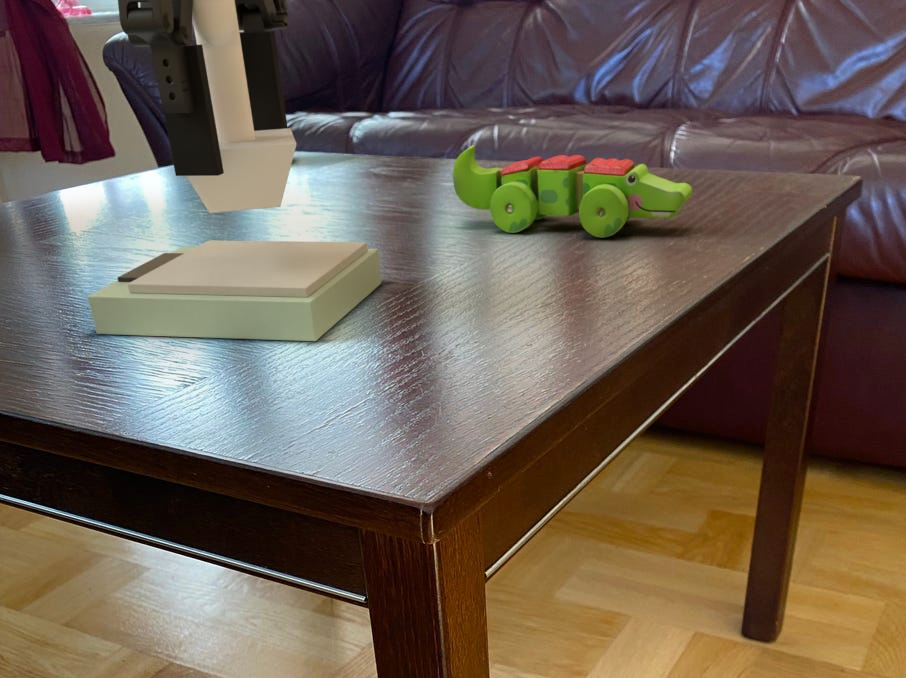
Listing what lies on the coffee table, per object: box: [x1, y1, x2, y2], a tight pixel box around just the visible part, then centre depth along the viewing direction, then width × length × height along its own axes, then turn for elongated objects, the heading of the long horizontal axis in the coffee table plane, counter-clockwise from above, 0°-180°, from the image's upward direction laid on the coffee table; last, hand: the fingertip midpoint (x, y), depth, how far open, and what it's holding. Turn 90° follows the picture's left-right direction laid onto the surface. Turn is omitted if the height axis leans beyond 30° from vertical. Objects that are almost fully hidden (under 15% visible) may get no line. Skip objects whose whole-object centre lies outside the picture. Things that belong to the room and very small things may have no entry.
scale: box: [87, 240, 382, 342], centre depth 68 cm, size 15×13×3 cm
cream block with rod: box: [186, 0, 297, 214], centre depth 61 cm, size 7×9×15 cm
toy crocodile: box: [452, 144, 693, 239], centre depth 83 cm, size 20×7×6 cm, turn 65°
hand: (236, 159), depth 63 cm, fingers closed on cream block with rod, 9 cm apart
